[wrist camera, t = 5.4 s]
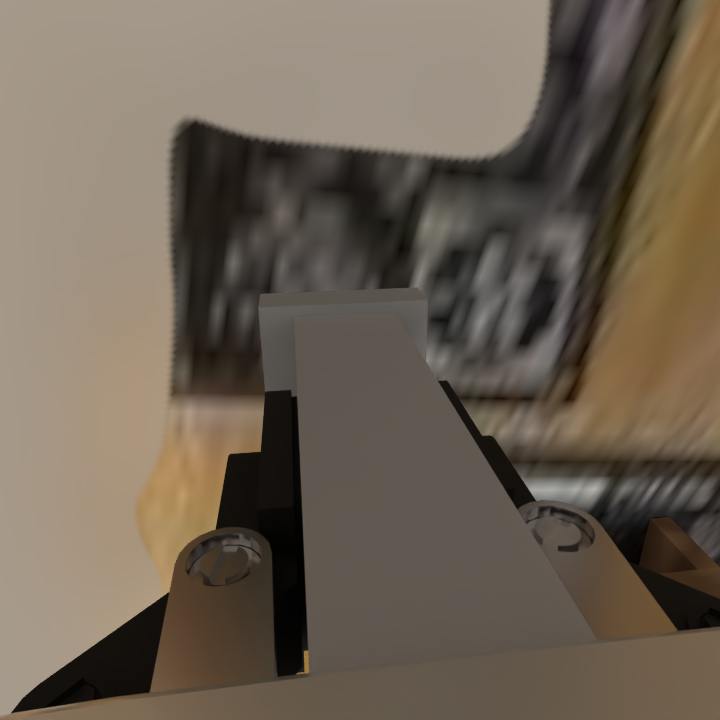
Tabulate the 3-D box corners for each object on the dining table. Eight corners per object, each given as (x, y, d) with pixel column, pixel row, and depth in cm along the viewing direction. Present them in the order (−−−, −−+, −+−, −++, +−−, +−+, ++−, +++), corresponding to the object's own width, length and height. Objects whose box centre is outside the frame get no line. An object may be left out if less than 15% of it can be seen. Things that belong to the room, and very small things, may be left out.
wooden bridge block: (669, 516, 40) (824, 671, 29) (640, 626, 45) (766, 799, 33) (382, 546, 38) (428, 730, 26) (381, 659, 42) (420, 860, 31)
